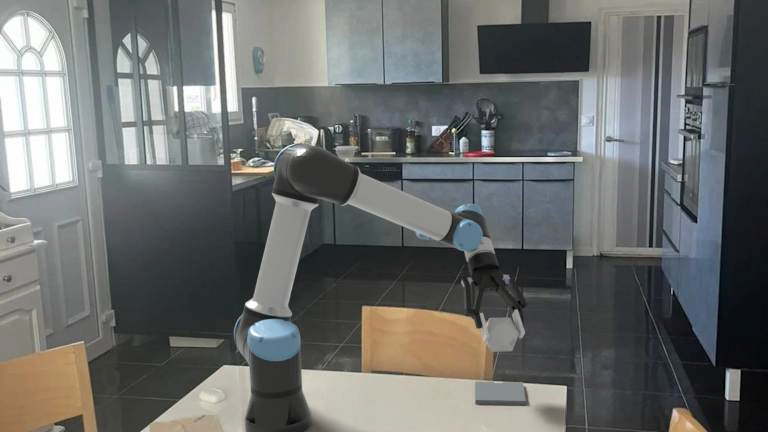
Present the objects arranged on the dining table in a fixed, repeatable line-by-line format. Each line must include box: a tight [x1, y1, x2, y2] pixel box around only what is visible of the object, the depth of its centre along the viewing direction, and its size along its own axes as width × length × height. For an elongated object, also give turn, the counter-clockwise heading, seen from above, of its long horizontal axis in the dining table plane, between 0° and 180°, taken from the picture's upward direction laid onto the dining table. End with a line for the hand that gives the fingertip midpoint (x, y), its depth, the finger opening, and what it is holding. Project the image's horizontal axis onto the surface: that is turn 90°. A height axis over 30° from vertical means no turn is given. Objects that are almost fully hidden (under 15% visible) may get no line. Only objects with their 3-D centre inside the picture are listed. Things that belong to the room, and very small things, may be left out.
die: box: [485, 316, 519, 353], centre depth 191 cm, size 8×9×10 cm
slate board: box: [474, 380, 527, 406], centre depth 193 cm, size 12×12×1 cm
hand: (504, 337), depth 187 cm, fingers closed on die, 8 cm apart
